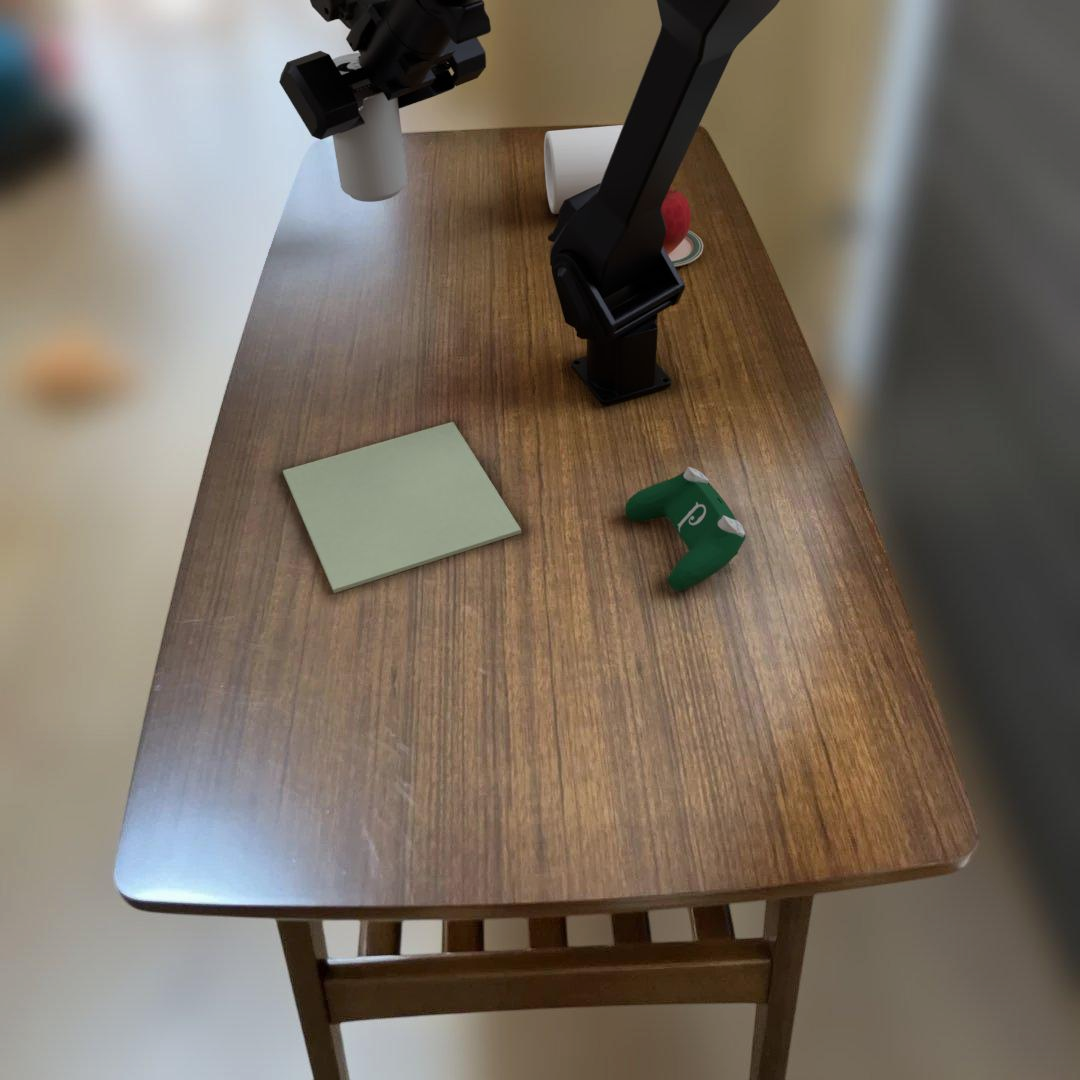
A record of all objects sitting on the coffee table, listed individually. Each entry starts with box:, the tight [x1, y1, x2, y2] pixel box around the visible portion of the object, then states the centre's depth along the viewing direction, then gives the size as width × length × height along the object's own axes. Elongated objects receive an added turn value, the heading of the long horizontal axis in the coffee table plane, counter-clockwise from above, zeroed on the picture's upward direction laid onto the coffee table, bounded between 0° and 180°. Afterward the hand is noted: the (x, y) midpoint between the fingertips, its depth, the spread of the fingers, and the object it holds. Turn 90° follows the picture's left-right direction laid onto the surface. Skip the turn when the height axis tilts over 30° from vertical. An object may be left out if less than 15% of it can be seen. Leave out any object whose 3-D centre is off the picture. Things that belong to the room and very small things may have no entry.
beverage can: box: [331, 52, 408, 203], centre depth 104 cm, size 6×6×12 cm
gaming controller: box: [624, 466, 747, 593], centre depth 78 cm, size 9×4×6 cm
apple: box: [661, 187, 704, 268], centre depth 107 cm, size 8×8×6 cm
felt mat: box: [282, 421, 522, 594], centre depth 83 cm, size 14×14×1 cm
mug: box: [543, 124, 624, 215], centre depth 115 cm, size 12×10×8 cm
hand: (356, 118), depth 104 cm, fingers closed on beverage can, 6 cm apart
